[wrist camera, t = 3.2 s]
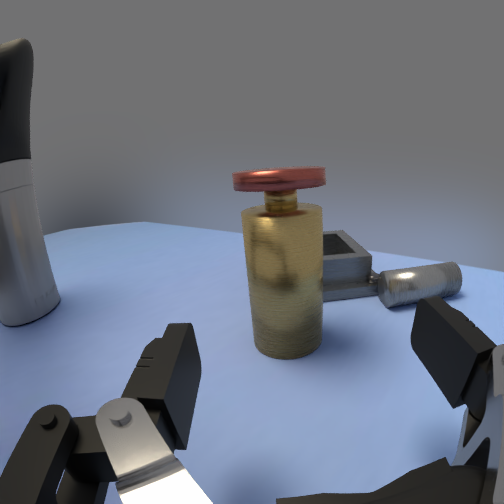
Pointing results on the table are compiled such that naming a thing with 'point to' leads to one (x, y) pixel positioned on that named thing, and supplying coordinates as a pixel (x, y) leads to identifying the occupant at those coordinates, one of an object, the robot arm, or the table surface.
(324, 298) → the socket
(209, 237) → the table surface
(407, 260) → the table surface
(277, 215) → the valve
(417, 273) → the cylinder
